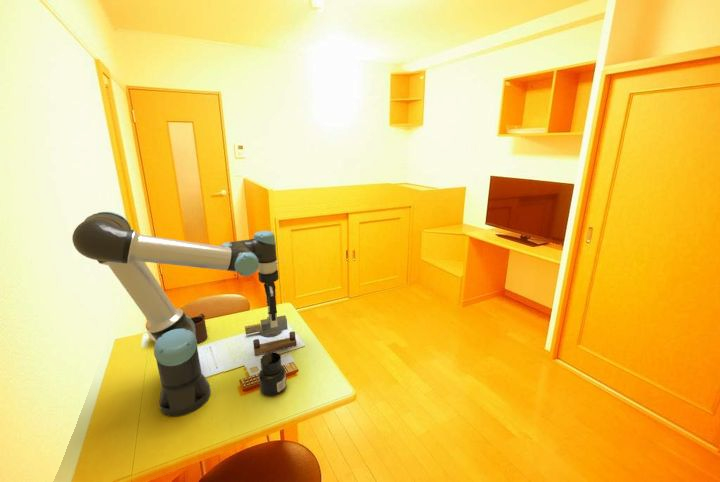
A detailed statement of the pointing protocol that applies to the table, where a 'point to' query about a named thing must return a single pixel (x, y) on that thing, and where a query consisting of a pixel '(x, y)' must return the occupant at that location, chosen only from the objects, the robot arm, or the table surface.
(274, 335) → the nut station
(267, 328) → the bar
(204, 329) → the mug
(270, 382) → the ink bottle
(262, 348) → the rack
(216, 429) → the table surface
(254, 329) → the golden ring with handle
